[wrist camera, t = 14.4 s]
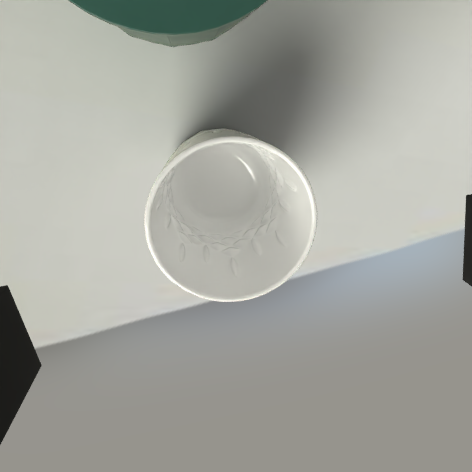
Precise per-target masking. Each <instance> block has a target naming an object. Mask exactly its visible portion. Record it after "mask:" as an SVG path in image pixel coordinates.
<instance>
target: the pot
mask: <svg viewBox="0 0 472 472" xmlns="http://www.w3.org/2000/svg"><path fill="white" fill-rule="evenodd" d="M248 15H250V14H248ZM248 15H246V16H244V17H243V18H241V19H239V20H238V21H235V22H233V23H231V24H228V25H226V26H223V27H221V28H218V29H215V30H211V31H207V32H203V33H199V34H193V35H183V36H159V35H150V34H144V33H139V32H134V31H130V30H127V29H124V28H121V27H119V28H120V29H122V30H123V31H124V32H126V33H127V34H128V35H130V36H132V37H136V38H140V39H143V40H146V41H150V42H153V43H158V44H163V45H167V46H171V47H172V46H173V47H176V46H182V45H191V44H196V43H200V42H205V41H210V40H213V39H216V38H217V37H219V36H220V35H221V34H223V33H224V32H226V31H228V30H229V29H231V28H232V27H233V26H235V25H236V24H238V23H239V22H240V21H242V20H243V19H245V18H246V17H248Z"/></svg>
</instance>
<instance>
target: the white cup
mask: <svg viewBox="0 0 472 472" xmlns="http://www.w3.org/2000/svg"><path fill="white" fill-rule="evenodd" d="M144 227H145V235H146V240H147V244H148V247H149V250H150V252H151V254H152V256H153V258H154V260H155V262H156V263H157V265H158V266H159V268H160V269H161V270H162V272H163V273H164V274H165V275H166V276H167V277H168V278H169V279H170V280H171V281H172V282H173V283H175V284H176V285H177V286H179V287H180V288H182V289H183V290H185V291H187V292H189V293H191V294H193V295H195V296H198V297H201V298H204V299H208V300H213V301H222V302H233V301H234V302H235V301H243V300H248V299H252V298H256V297H259V296H261V295H264V294H266V293H268V292H270V291H272V290H274V289H275V288H277V287H279V286H280V285H282V284H283V283H284V282H285V281H287V280H288V279H289V278H290V277H291V276H292V275H293V274H294V273H295V272H296V271H297V270H298V268H299V267H300V266H301V265H302V263H303V262H304V260H305V258H306V257H307V255H308V253H309V251H310V249H311V246H312V244H313V241H314V237H315V233H316V227H317V206H316V200H315V196H314V193H313V190H312V187H311V185H310V183H309V181H308V179H307V177H306V175H305V174H304V172H303V171H302V169H301V168H300V167H299V166H298V165H297V163H296V162H295V161H294V160H293V159H292V158H290V157H289V156H288V155H287V154H286V153H284V152H283V151H281V150H280V149H278V148H276V147H275V146H273V145H271V144H268V143H266V142H264V141H262V140H260V139H258V138H256V137H254V136H251V135H249V134H246V133H242V132H239V131H235V130H230V129H225V128H221V129H213V130H205V131H200V132H199V133H197V134H196V135H194V136H193V137H191V138H189V139H188V140H186V141H185V142H184V143H182V144H181V145H180V146H179V147H178V148H177V149H176V151H175V152H174V153H173V154H172V155H171V157H170V158H169V160H168V161H167V163H166V164H165V166H164V168H163V169H162V171H161V173H160V174H159V176H158V177H157V179H156V180H155V182H154V184H153V186H152V188H151V191H150V193H149V196H148V199H147V203H146V208H145V216H144Z"/></svg>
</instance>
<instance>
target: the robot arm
mask: <svg viewBox="0 0 472 472" xmlns="http://www.w3.org/2000/svg"><path fill="white" fill-rule="evenodd" d="M463 280H464V281H465V282H467V283H468V284H469V285H471V286H472V194H471V195H466V214H465V240H464V264H463ZM40 367H41V363H40V361H39V358H38V356H37V354H36V351H35V349H34V346H33V344H32V342H31V339H30V337H29V335H28V332H27V330H26V328H25V325H24V323H23V321H22V318H21V316H20V313H19V311H18V309H17V306H16V304H15V302H14V299H13V297H12V295H11V292H10V290H9V288H8V285H6V286H1V287H0V444H1V442H2V440H3V438H4V437H5V435H6V433H7V431H8V429H9V427H10V425H11V423H12V421H13V419H14V417H15V415H16V413H17V412H18V409H19V408H20V406H21V404H22V402H23V400H24V398H25V396H26V394H27V392H28V390H29V389H30V387H31V384H32V383H33V381H34V379H35V377H36V375H37V373H38V371H39V369H40Z"/></svg>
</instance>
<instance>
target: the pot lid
mask: <svg viewBox="0 0 472 472" xmlns="http://www.w3.org/2000/svg"><path fill="white" fill-rule="evenodd" d="M68 1H70V2H71V3H73V4H75V5H76V6H78V7H79V8H81V9H82V10H84V11H85V12H87V13H89V14H91V15H93V16H95V17H97V18H99V19H101V20H103V21H105V22H107V23H109V24H112V25H115V26H118V27H121V28H124V29H127V30H130V31H134V32H139V33H144V34H150V35H159V36H183V35H193V34H199V33H203V32H207V31H211V30H215V29H218V28H221V27H223V26H226V25H228V24H231V23H233V22H235V21H238V20H239V19H241V18H243V17H244V16H246V15H248V14H250V13H251V12H253V11H255V10H256V9H257V8H259V7H260V6H261V5H262V4H264V3H265V2H266V1H268V0H68Z"/></svg>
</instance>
